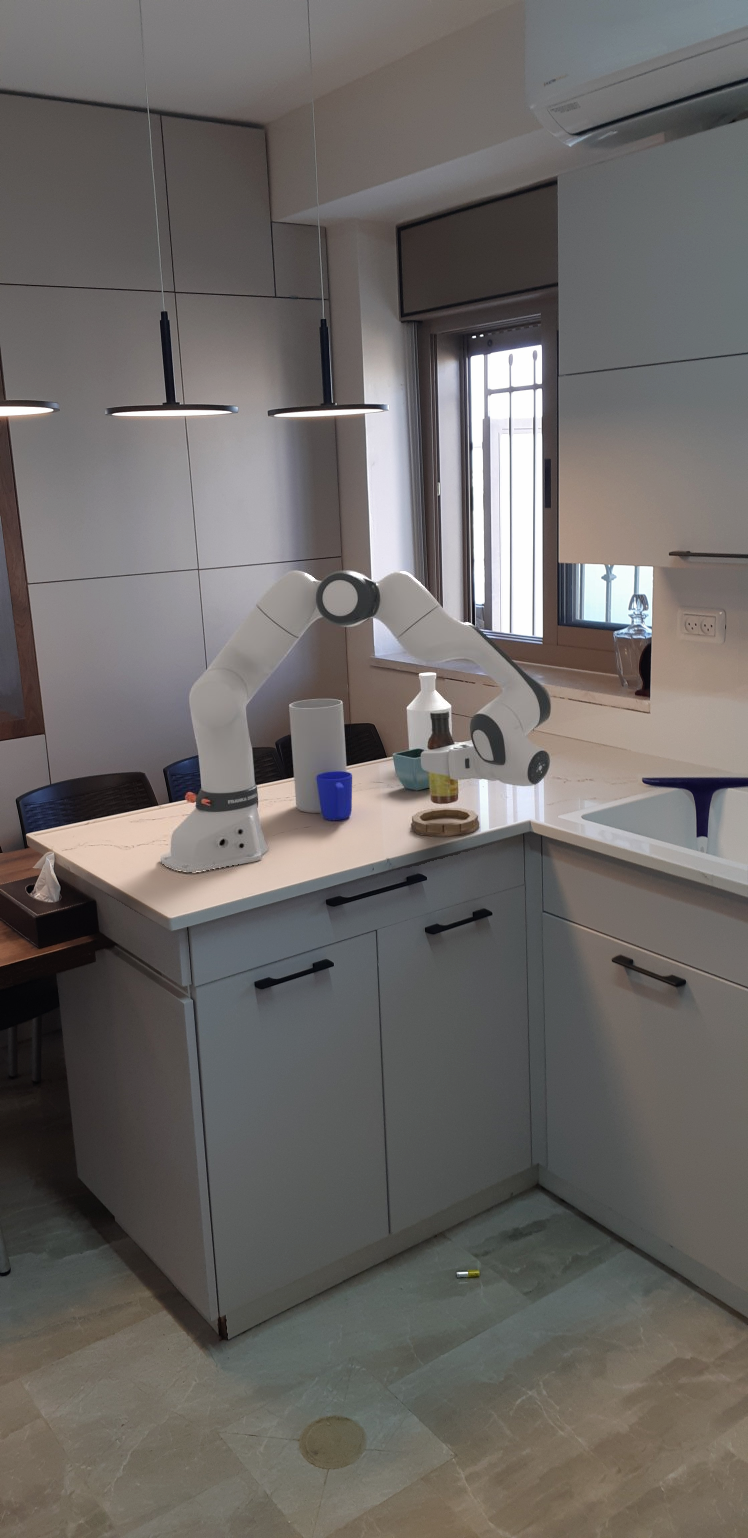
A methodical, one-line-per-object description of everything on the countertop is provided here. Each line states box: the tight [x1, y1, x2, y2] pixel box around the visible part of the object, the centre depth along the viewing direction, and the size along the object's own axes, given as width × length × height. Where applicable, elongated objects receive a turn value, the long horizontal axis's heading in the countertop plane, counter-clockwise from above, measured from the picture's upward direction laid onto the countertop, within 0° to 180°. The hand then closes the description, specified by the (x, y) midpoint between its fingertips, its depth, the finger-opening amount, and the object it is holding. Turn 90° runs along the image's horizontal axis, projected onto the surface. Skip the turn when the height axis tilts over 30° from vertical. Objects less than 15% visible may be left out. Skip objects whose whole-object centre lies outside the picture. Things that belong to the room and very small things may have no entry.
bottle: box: [406, 672, 453, 750], centre depth 309 cm, size 12×12×25 cm
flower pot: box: [391, 748, 430, 791], centre depth 288 cm, size 9×9×9 cm
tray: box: [410, 807, 480, 838], centre depth 254 cm, size 15×15×2 cm
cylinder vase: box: [288, 698, 348, 814], centre depth 273 cm, size 12×12×25 cm
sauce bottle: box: [427, 710, 459, 805], centre depth 250 cm, size 7×6×20 cm
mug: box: [316, 771, 353, 821], centre depth 263 cm, size 8×12×10 cm
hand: (439, 749), depth 251 cm, fingers closed on sauce bottle, 6 cm apart
